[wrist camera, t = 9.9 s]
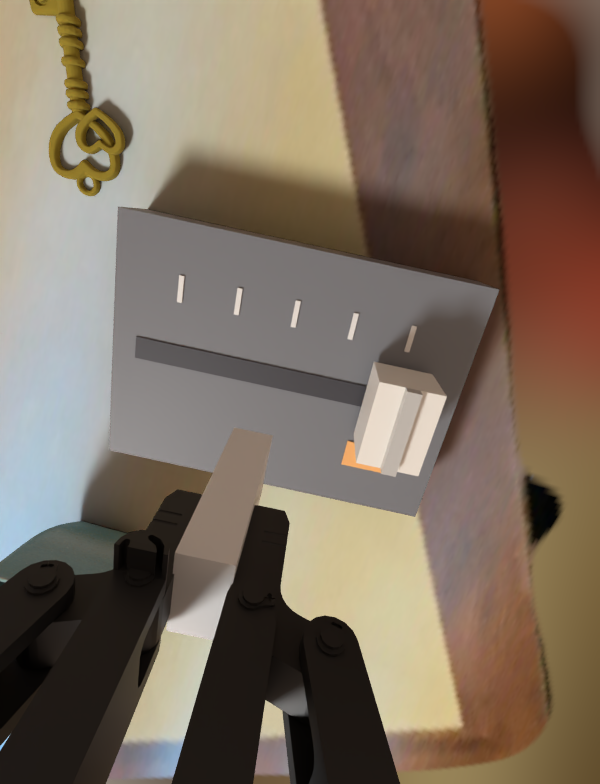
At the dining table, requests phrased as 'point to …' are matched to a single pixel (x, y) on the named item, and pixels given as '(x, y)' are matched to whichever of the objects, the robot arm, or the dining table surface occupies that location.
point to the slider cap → (397, 419)
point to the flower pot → (66, 549)
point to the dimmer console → (276, 350)
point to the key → (79, 104)
